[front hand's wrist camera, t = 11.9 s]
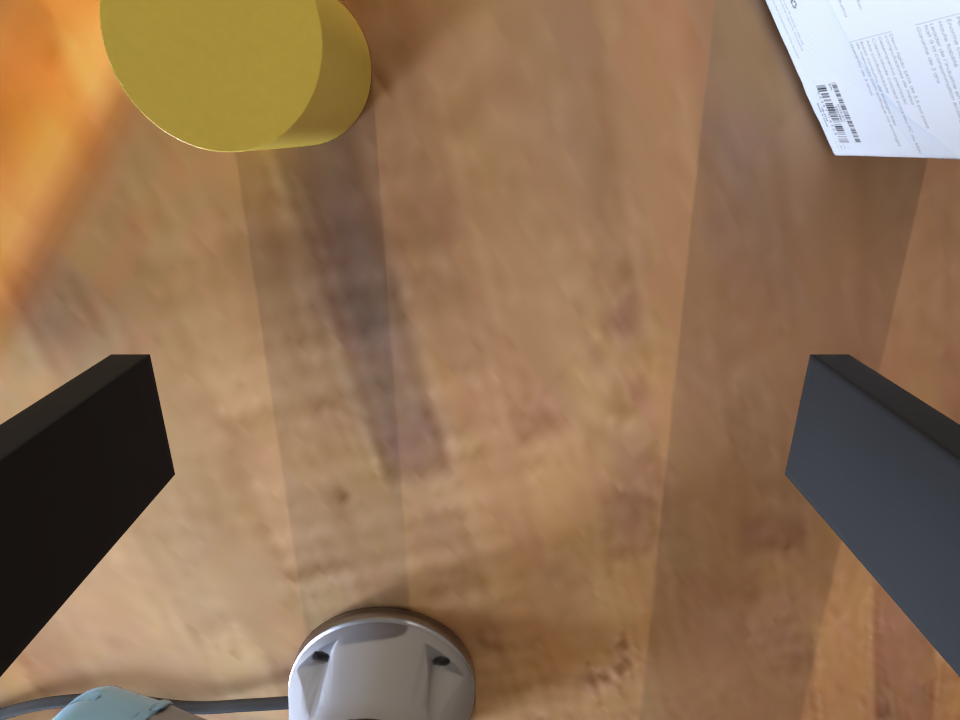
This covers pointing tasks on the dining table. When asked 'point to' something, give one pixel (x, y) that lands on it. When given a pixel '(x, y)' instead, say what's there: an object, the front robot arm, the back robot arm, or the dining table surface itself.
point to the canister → (240, 69)
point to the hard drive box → (879, 72)
